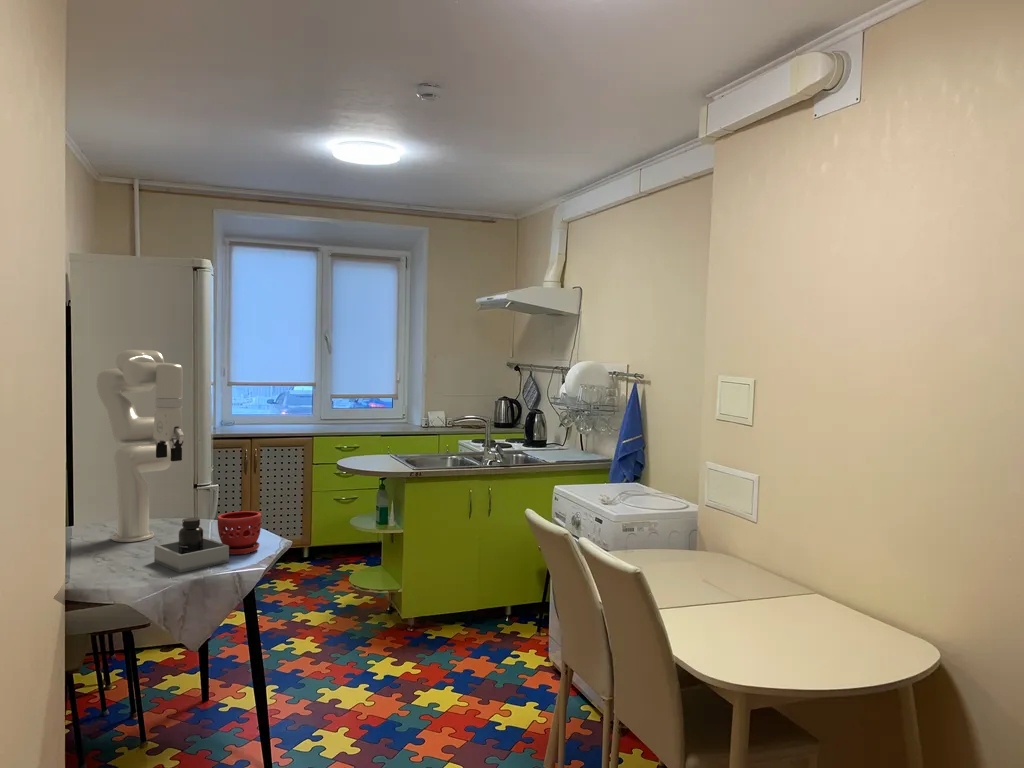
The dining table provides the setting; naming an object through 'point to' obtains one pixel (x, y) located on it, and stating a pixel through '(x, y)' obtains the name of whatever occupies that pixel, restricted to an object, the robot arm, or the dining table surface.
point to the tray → (191, 556)
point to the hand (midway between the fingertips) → (168, 459)
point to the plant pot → (240, 531)
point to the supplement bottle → (190, 536)
